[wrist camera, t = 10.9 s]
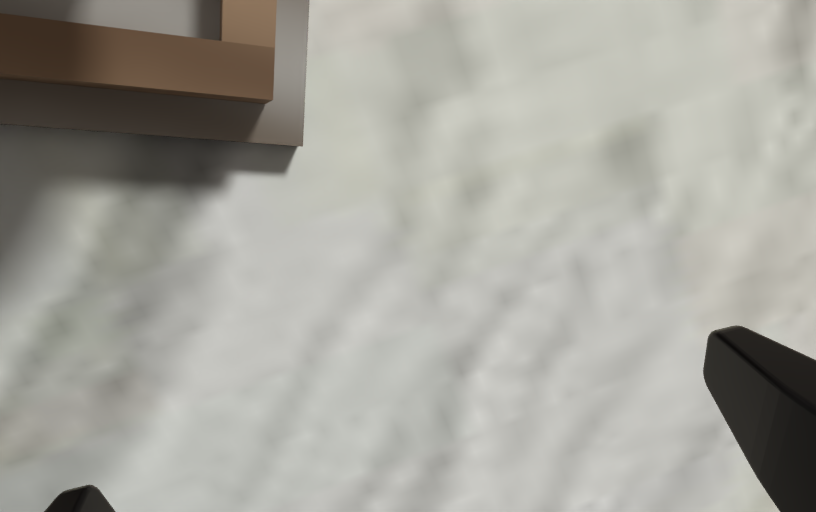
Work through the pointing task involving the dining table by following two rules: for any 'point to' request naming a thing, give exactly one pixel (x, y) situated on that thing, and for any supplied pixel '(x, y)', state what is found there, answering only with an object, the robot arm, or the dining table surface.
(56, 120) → the socket holder
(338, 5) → the dining table surface
